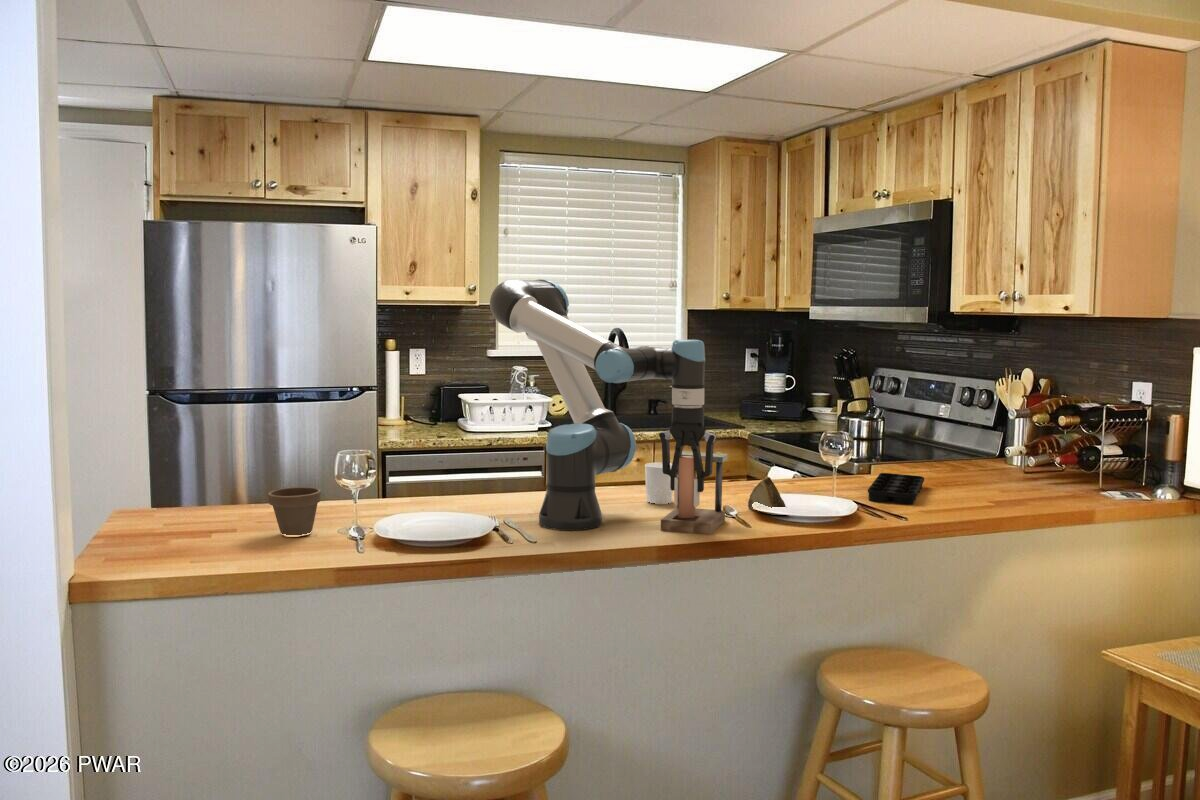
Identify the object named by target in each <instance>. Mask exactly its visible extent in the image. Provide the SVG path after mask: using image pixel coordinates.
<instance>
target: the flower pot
mask: <svg viewBox="0 0 1200 800" xmlns="http://www.w3.org/2000/svg"><path fill="white" fill-rule="evenodd" d="M321 491H322V490H321V489H320V488H317V487H310V486H298V487H297V486H296V487H295V486H294V487H286V488H285V487H284V488H279V489H275V490H271V491H270V492H268V493H267V498H268V504H269V505H271V506H272V509H273V511H274V515H275V519H276V523H277V525H278V529H279V532H280V534H281V533H282V534H286V535H302V534H307V533H310V532H311V531H312V532H313V528H314V525H315V524H314V523H315V520H316V513H317V508H318V503H320V502H321V500H322V492H321ZM312 532H311V533H312Z"/></svg>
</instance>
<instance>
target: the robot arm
mask: <svg viewBox="0 0 1200 800" xmlns="http://www.w3.org/2000/svg"><path fill="white" fill-rule="evenodd" d="M568 298H569V297H568V295H567V293H566V291H565V290H564V288H563V287H562V286H561V285H560V284H557V283H556V282H554V281H550V280H546V279H508V280H504V281H502V282H501V283H499V284H498V285H497V286H496V287H495V288H494V289H493V291H492V292H491V295H490V299H489V307H490V313H491V315H492V316H493V318H494V319H495V320H496V321H497V322H498V323H499V324H501V325H503V326H504V327H505V328H507V329H509V330H511V331H514V332H515V333H520V334H521V333H525V335H526V337H527V338H528V339H529V340H532V341H534V342H535V343H536V344H537V346H538V348H539V350H540V353H541V355H542V357H543V359H544V361H545V363H546V366H547V368H548V370H549V372H550V374H551V377H552V379H553V381H554V383H555V384H556V387H557V389H558V391H559V394H560V395H561V397H562V400H563V402H564V404H565V406H566V408H567V410H568V412H569V415H570V417H571V419H572V422H573V423H570V424H566V423H565V424H562V425H558V426H555V427H553V428H552V429H550V430H549V431H548V432H547V435H546V444H545V451H546V453H545V455H546V456H545V457H546V459H545V461H546V466H545V467H546V489H545V490H546V492H545V496H544V498H543V500H542V504H541V508H540V511H539V514H538V524H539V526H541V527H543V526H544V528H547V529H552V530H558V531H559V530H560V531H581V530H583V531H584V530H590V529H594V528H598V527H600V526H601V525H603V513H602V509H601V506H600V503H599V500H598V497H597V494H596V476H598V475H602V474H608V473H614V472H617V471H619V470H622V469H624V468H626V467H628V465H629V464H631V463H632V461H633V459H634V457H635V452H636V450H637V441H636V437H635V434H634V432H633V431H632V429H631V428H630V426H628V425H625V424H624V423H622V422H619V420H618V419H617V417H616V413H614V411H613V410H610V409H607V408H606V407H605V405H604V404H603V402H602V399H601V397H600V396H599V393H598V391H597V389H596V387H595V385H594V382H593V380H592V378H591V377H590V374H589V372H588V369H587V368H586V366H587V367H588V368H592V369H593V370H595V372H596V374H597V375H598V377H599V378H600V379H601V380H602V381H603V382H605V383H609V384H611V383H613V384H621V383H626V382H634V381H643V380H645V381H646V380H652V379H654V380H671V384H672V385H671V405H673V406H672V408H671V426H670V427H669V430H665V431H662V432H660V433H659V434H658V436H659V439H660V441H661V459H662V460H661V461H662V462H661V463H662V466H663V473H664V474H667V475H669V476H670V478H671V480H670V488H671V490H673V493H674V495H673V496H674V499H673V501H674V504H673V505H674V506H677V505H678V485H679V476H678V469H679V457H681V455H682V451H683V450H684V447H685V446H688V447H690V449H691V452H693V457H694V463H695V468H696V478H695V479H694V507H695V508H697V507H698V506H700V496H701V495H700V493H703V492H704V490H705V478H708V477H710V476H712V473H713V464H714V462H713V453H714V447H715V446H714V444H715V442H716V439H717V436H718V435H717V434H716V433H711V432H709V431H707V429H706V427H705V407H704V405H705V371H706V370H705V368H706V367H705V364H706V359H707V358H706V351H705V343H704V341H702V340H699V339H675V340H673V342H672V346H671V347H662V346H661V347H659V346H657V347H656V346H648V345H647V346H646V345H645V346H644V345H643V346H634V347H632V348H631V347H629V348H625V347H622V346H620V345H618V344H617V343H614V342H612V341H611V340H609V339H608V338H605V337H603V336H601V335H599V334H597V333H596V332H593V331H592V330H589V329H588V328H586V327H584V326H582V325H580V324H578V323H576V322H574V321H572V320H570V319H569V318H570V317H569V316H568V313H569V306H570V302H569V301H570V300H569V299H568ZM671 436H672V438H673V439H674V440H675V445H674V446H675V447H674V453H673V459H672V463H671V457H670V456H671V454H670V453H671V452H670V451H671V450H670V449H671V448H670V439H671ZM703 438H705V439H704V441H705V442H706V446H705V453H706V458H705V461H704V465H703V461H702V458H701V453H702V452H701V446H700V441H701V440H702V439H703ZM670 463H671V464H672V467H671V469H670Z"/></svg>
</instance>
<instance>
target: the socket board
mask: <svg viewBox="0 0 1200 800" xmlns="http://www.w3.org/2000/svg"><path fill="white" fill-rule="evenodd" d="M725 521H726V510H721V512H716V511H715V509H708V508H697V507H695V517H693V518H681V517H678V508H677V507H675V508H673V510H671V511H670V512H668V513H667V514H666V515H665V516H664V517H662V518H661V519H660V531H667V532H668V531H669V532H679V533H689V534H690V533H691V534H700V535H713V533H714V532H715V531H716V530H717V529H718V528H720V526H721V525H722V524H723V523H724V522H725Z"/></svg>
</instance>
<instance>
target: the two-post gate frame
mask: <svg viewBox="0 0 1200 800" xmlns="http://www.w3.org/2000/svg"><path fill="white" fill-rule="evenodd" d="M700 453H701V458H702V462H705V458H706V452H700ZM681 456H693V452H692V451H683V450H682V455H681ZM726 461H728V454H727V453H714V452H713V463H715V480H714V481H715V488H714V489H715V492H714V494H715V495H714V510H715V511H716V512H721V510H722V509H723V508H722V505H723V504H722V501H723V500H722V498H723V463H724V462H726ZM677 476H679V469H678V475H677ZM676 508H678V505H676ZM722 511H723V510H722Z"/></svg>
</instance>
